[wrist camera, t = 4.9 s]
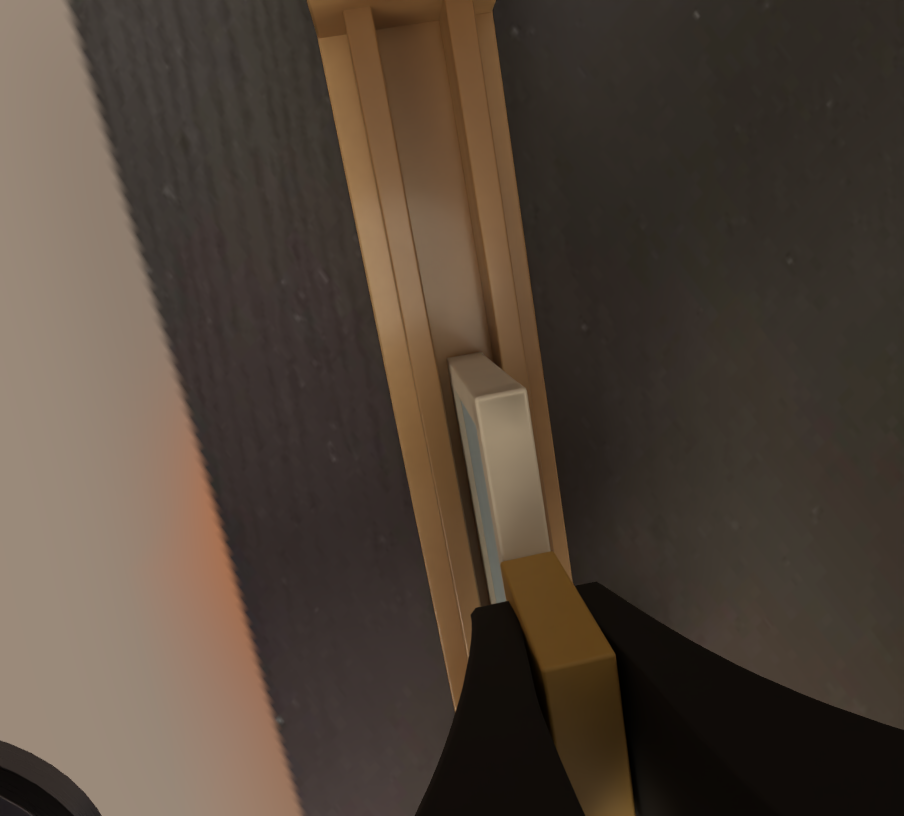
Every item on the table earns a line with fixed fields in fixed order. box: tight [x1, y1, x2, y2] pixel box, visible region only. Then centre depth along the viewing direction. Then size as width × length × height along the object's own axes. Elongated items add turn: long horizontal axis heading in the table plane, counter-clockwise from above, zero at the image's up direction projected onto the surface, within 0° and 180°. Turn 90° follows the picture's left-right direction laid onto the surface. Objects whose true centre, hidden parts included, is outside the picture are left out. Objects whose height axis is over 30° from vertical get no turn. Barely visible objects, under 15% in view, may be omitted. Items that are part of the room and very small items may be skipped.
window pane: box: [447, 352, 636, 816], centre depth 12 cm, size 1×9×8 cm, turn 10°
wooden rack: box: [306, 0, 573, 712], centre depth 14 cm, size 4×22×5 cm, turn 10°
